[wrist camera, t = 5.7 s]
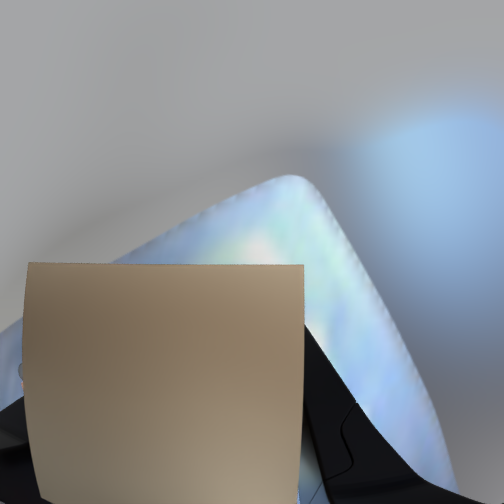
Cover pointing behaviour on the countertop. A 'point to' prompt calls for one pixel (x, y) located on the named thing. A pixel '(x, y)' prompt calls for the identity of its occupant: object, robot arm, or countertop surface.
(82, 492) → the tall oak brick
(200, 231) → the countertop surface
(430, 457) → the countertop surface
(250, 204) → the countertop surface
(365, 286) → the countertop surface
